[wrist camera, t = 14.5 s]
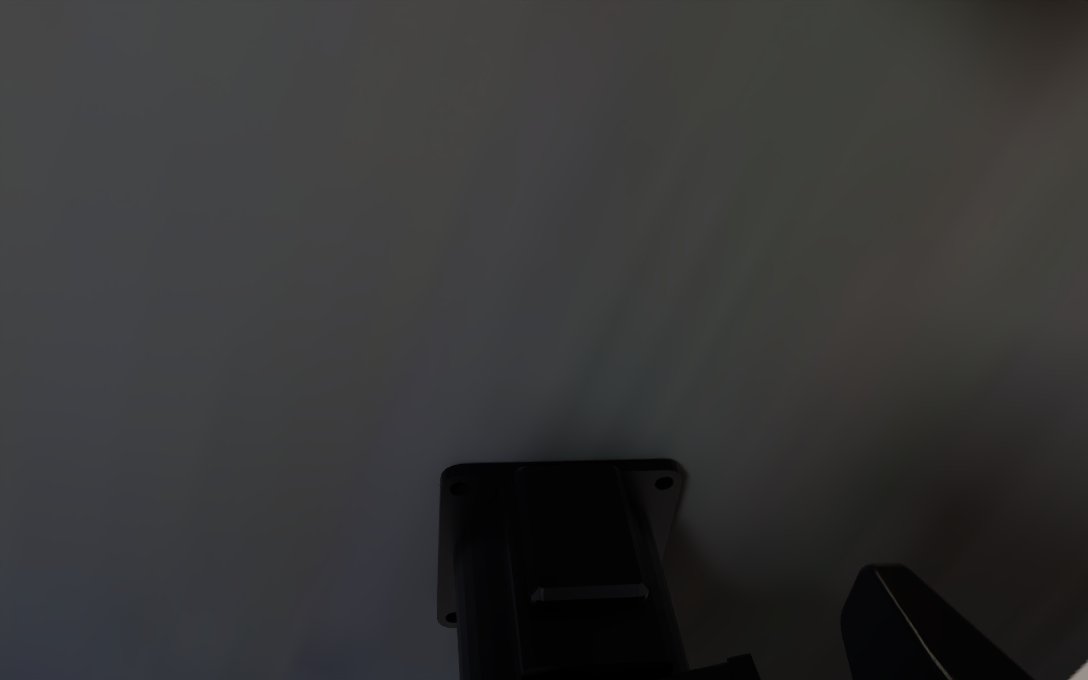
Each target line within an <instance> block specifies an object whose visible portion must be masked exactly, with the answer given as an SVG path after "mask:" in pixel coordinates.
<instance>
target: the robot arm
mask: <svg viewBox="0 0 1088 680" xmlns="http://www.w3.org/2000/svg"><path fill="white" fill-rule="evenodd" d="M661 477H666V478H663V479H659V478H661ZM458 482H463V483H464V484H460V485H458V484H455V483H458ZM681 485H682V476H681V473H680V470H679V467H678V466H677V464H676V463H675V462H673V461H671V460H624V461H583V462H541V463H499V464H459V465H453V466H451V467H449V468H447V469H445V470H444V471H443V473H442V474H441V478H440V508H439V546H438V584H437V619H438V622H439V623H440V624H441V625H442V626H445V627H448V628H457V635H458V653H459V672H460V680H761V679H760V677H759V674H758V672H757V669H756V667H755V664H754V662H753V659H752V657H751V654H750V653H748V654H744V655H739V656H735V657H730V658H727V660H728V662H726V663H722V664H717V665H712V666H708V667H703V668H699V669H694V670H690V669H689V666H688V662H687V658H686V654H685V651H684V647H683V643H682V639H681V636H680V632H679V628H678V625H677V621H676V617H675V613H674V610H673V606H672V602H671V598H670V595H669V591H668V587H667V583H666V580H665V576H664V572H663V569H662V562H663V558H664V554H665V550H666V546H667V542H668V538H669V534H670V530H671V526H672V522H673V518H674V514H675V510H676V506H677V502H678V497H679V493H680V489H681ZM841 631H842V636H843V640H844V645H845V649H846V653H847V657H848V661H849V665H850V669H851V673H852V678H853V680H1035V679H1034V678H1033V677H1032V676H1030V675H1029V674H1028V673H1027V672H1026V671H1025V670H1024V669H1023V668H1021V667H1020V666H1019V665H1018V664H1017V663H1016V662H1015V661H1013V660H1012V659H1011V658H1010V657H1009V656H1008V655H1007V654H1006V653H1004V652H1003V651H1002V650H1001V649H1000V648H999V647H998V646H996V645H995V644H994V643H993V642H992V641H991V640H990V639H989V638H987V637H986V636H985V635H984V634H983V633H982V632H981V631H980V630H978V629H977V628H976V627H975V626H974V625H973V624H972V623H970V622H969V621H968V620H967V619H966V618H965V617H964V616H963V615H961V614H960V613H959V612H958V611H957V610H956V609H955V608H954V607H952V606H951V605H950V604H949V603H948V602H947V601H946V600H944V599H943V598H942V597H941V596H940V595H939V594H938V593H937V592H935V591H934V590H933V589H932V588H931V587H930V586H929V585H927V584H926V583H925V582H924V581H923V580H922V579H921V578H920V577H918V576H917V575H916V574H915V573H914V572H913V571H912V570H910V569H909V568H908V567H906V566H904V565H902V564H899V563H875V564H867V565H865V566H864V567H863V568H862V569H861V570H860V572H859V574H858V576H857V578H856V580H855V583H854V585H853V587H852V589H851V591H850V594H849V596H848V598H847V600H846V602H845V605H844V607H843V610H842V614H841Z"/></svg>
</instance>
